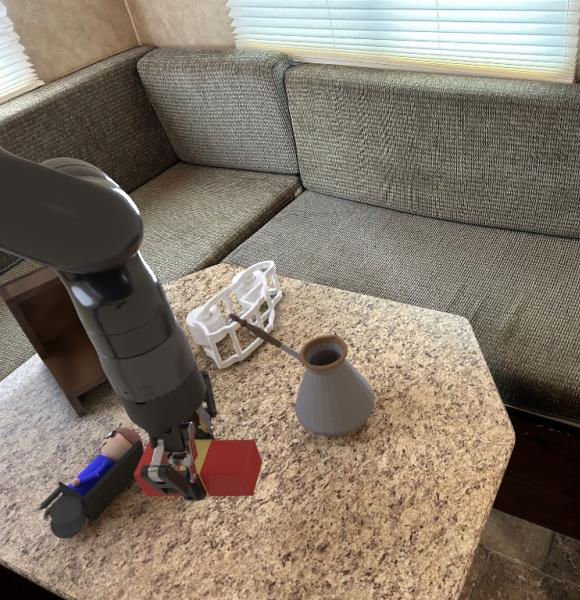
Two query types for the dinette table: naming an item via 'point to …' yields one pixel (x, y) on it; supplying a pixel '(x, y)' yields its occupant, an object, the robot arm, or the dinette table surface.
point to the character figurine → (95, 484)
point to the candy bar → (216, 468)
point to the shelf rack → (55, 331)
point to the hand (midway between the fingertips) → (203, 476)
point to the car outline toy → (251, 296)
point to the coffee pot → (325, 384)
